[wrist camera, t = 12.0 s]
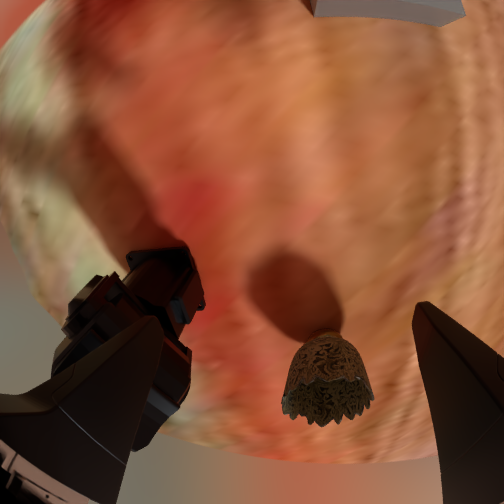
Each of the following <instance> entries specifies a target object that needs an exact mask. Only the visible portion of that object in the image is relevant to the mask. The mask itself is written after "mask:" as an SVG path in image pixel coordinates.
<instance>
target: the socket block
mask: <svg viewBox="0 0 504 504" xmlns="http://www.w3.org/2000/svg"><path fill="white" fill-rule="evenodd" d="M310 3H311V7H312V11H313V15H314V17H372V18H385V19H394V20H403V21H410V22H416V23H422V24H428V25H433V26H438V27H442V26H444V25H446V24H448V23H451V22H453V21H455V20H457V19H460V18H462V17H464V16H466V14H465V11H464V8H463V5H462V2H461V0H310Z"/></svg>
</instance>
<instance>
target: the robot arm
mask: <svg viewBox="0 0 504 504" xmlns="http://www.w3.org/2000/svg"><path fill="white" fill-rule="evenodd" d="M182 251H184V252H185V254H183V253H182ZM130 256H131V257H132V258H133V259H132V258H131V257H130ZM126 259H127V262H128V265H129V267H130V270H131V271H130V272H129V273H128V274H127V275H126V277H125V278H124V279H123V280H122V281H121V280H120V278H119V275H118V274H117V273H116V272H115V271H114V272H113V273H112V274H111V275H110V276H108V275H106V276H104V277H102V276H99V275H95V276H94V277H93V278H92V279H91V280H90V281H89V282H88V283H87V284H86V286H85V287H84V288H83V289H82V290H81V291H80V292H79V293H78V294H77V295H76V296H75V297H74V298H73V299H72V301H71V302H70V303H69V304H68V316H67V318H66V319H65V320H66V322H65V324H64V325H63V327H62V328H61V330H62V331H63V332H64V333H65V335H66V338H64V340H63V341H62V342H61V343H60V344H59V346H58V347H57V348H56V350H55V353H54V358H53V364H52V371H51V379H49V380H47V381H46V382H44V383H42V384H41V385H39V386H37V387H35V388H33V389H32V390H30V391H28V392H26V393H23V394H19V395H9V394H0V504H88V501H89V499H91V500H93V501H95V502H97V503H99V504H116V502H117V498H118V494H119V491H120V487H121V483H122V480H123V476H124V472H125V469H126V464H127V461H128V458H129V455H130V451H133V452H136V451H138V450H140V449H142V448H144V447H146V446H147V445H148V444H149V443H150V441H151V440H152V438H153V437H154V435H155V434H156V432H157V431H158V430H159V428H160V427H161V425H162V424H163V423H164V422H165V421H166V420H167V419H168V418H169V417H170V416H171V415H172V414H174V413H175V412H176V411H177V410H179V408H180V405H181V404H182V402H183V401H184V400H185V398H186V396H187V394H188V392H189V389H190V383H191V361H192V351H191V350H190V349H189V348H188V347H185V346H184V345H183V344H182V343H181V342H180V341H179V340H178V339H179V337H180V335H181V333H182V331H183V328H184V326H185V324H190V323H191V321H192V319H193V317H194V315H195V313H196V311H201V310H204V308H205V306H206V303H205V300H204V297H203V296H204V291H203V288H202V285H201V281H200V278H199V275H198V271H197V270H196V269H195V267H194V264H193V261H192V257H191V254H190V251H189V249H188V248H187V247H183V246H182V247H172V248H162V249H151V250H141V251H131V252H129V253H128V254H127V255H126ZM199 304H200V305H201V306H200V305H199ZM412 330H413V335H414V340H415V345H416V351H417V357H418V363H419V367H420V372H421V375H422V379H423V383H424V387H425V391H426V395H427V399H428V403H429V408H430V412H431V417H432V422H433V427H434V432H435V438H436V443H437V450H438V456H439V464H440V472H441V473H442V474H441V482H442V494H443V504H504V358H503V357H502V356H501V355H499V354H498V355H497V352H496V351H494V350H493V349H492V348H490V347H489V346H488V345H487V344H485V343H484V342H483V341H482V340H480V339H479V338H478V337H476V336H475V335H474V334H472V333H471V332H470V331H468V330H467V329H466V328H464V327H463V326H462V325H460V324H459V323H458V322H456V321H455V320H454V319H452V318H451V317H450V316H448V315H447V314H445V313H444V312H443V311H441V310H440V309H438V308H437V307H436V306H434V305H433V304H431V303H430V302H428V301H424V302H418V303H417V304H416V306H415V311H414V315H413V319H412Z"/></svg>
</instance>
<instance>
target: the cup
mask: <svg viewBox="0 0 504 504" xmlns="http://www.w3.org/2000/svg"><path fill="white" fill-rule="evenodd" d="M370 400H372V401H373V400H374V395H373V392H372V389H371V386H370V382H369V379H368V376H367V373H366V370H365V367H364V364H363V361H362V359H361V357H360V354H359V353H358V351H357V349H356V348H355V347H354V346H353V345H352V344H351V343H349V342H348V341H346V340H344V339H343V337H342V336H341V335H340V334H339V333H338V332H337V331H335V330H332V329H321V330H318V331H315V332H314V333H313V334H311V336H310V337H309V338H308V340H307V342H306V343H305V344H304V345H303V346H302V347H301V348H300V349H299V350H298V351H297V353H296V354H295V356H294V358H293V360H292V362H291V365H290V369H289V373H288V377H287V381H286V385H285V390H284V394H283V397H282V402H281V404H282V410H283V414H284V415H287V414H290V418H291V419H292V420H294V419H296V418H297V415H298V414H300V415H301V416H306V418H307V420H308V424H309V425H311V424H312V423H313V422H314V421H315V422H316V423H317V424H318V425H319V426H320V427H324V426H326V425H327V424H328V423H329V422H330V421H331V420H333V419H334V420H335V422H336V423H337V424H338V425H339V424H340V422H341V420H342V416H343V414H344V415H345V416H346V417H347V418H349V419H350V420H353V419H354V416H355V414H357V415H359V416H361V415H362V413H363V410H364V405H365V407H366V409H369V408H370Z"/></svg>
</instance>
